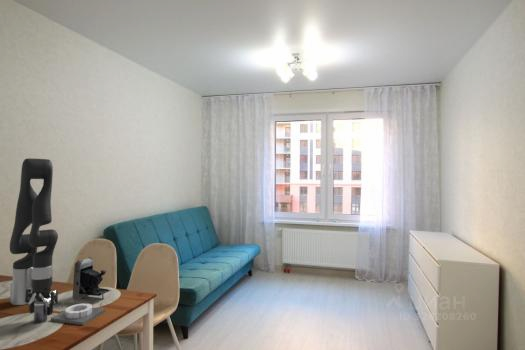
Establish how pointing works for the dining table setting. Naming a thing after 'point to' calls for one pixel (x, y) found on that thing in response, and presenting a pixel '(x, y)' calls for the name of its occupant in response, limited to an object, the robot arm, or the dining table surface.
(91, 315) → the mount
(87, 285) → the vintage camera
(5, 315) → the dining table surface
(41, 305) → the lens
